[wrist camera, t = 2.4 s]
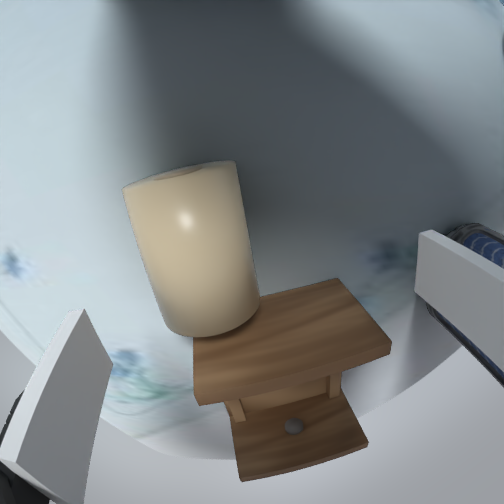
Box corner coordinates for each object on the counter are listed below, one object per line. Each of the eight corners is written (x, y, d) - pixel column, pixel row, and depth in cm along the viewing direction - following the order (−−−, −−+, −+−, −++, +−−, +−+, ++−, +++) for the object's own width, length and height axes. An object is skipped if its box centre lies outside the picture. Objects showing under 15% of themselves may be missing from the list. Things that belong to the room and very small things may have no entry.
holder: (193, 311, 21) (193, 394, 14) (337, 278, 22) (391, 341, 15) (230, 413, 26) (241, 482, 19) (336, 386, 27) (367, 446, 20)
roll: (194, 160, 18) (107, 188, 15) (259, 155, 14) (149, 187, 11) (219, 274, 22) (149, 313, 18) (281, 298, 17) (200, 355, 14)
